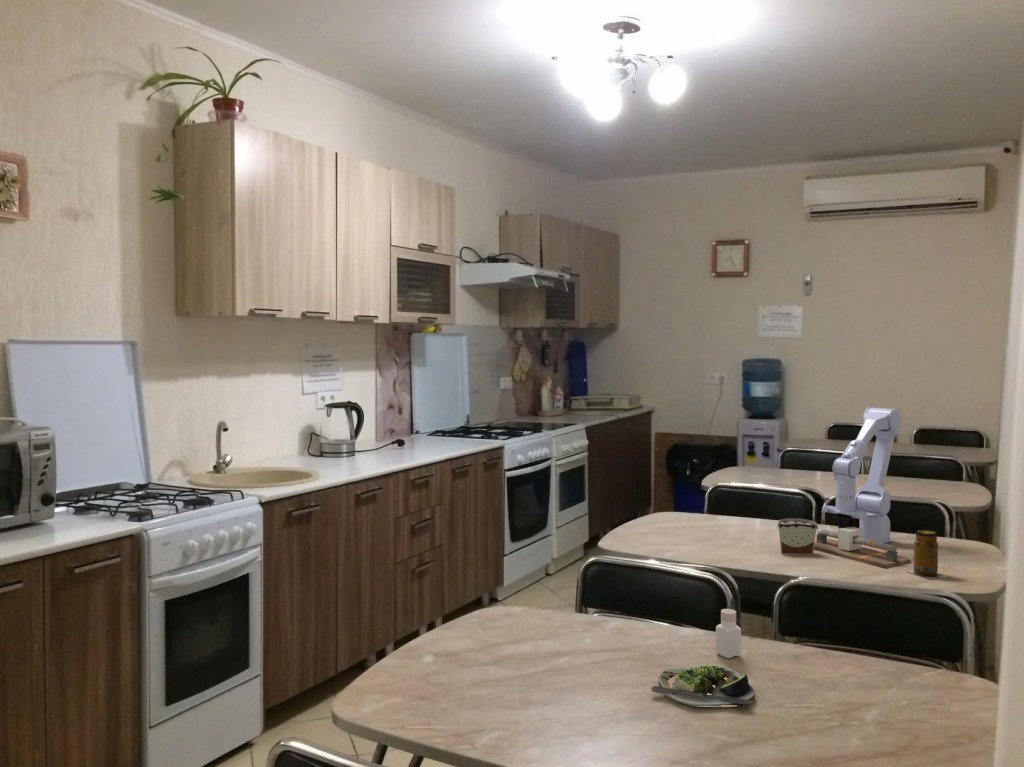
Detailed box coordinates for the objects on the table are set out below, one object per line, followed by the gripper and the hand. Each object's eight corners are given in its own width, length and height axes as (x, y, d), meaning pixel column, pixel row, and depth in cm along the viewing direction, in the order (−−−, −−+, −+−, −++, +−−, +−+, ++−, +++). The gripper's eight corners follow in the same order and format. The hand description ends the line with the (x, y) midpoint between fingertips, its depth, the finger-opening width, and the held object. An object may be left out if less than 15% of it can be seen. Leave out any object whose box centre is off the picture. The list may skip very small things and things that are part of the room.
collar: (850, 545, 259) (850, 526, 258) (861, 548, 255) (862, 529, 255) (837, 548, 256) (838, 528, 255) (849, 550, 252) (849, 531, 252)
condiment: (925, 569, 237) (926, 528, 237) (950, 577, 229) (951, 534, 229) (905, 571, 235) (906, 530, 234) (930, 580, 227) (930, 537, 226)
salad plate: (663, 718, 147) (663, 692, 146) (638, 676, 164) (638, 654, 164) (767, 712, 149) (768, 687, 148) (731, 672, 166) (732, 650, 166)
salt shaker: (727, 660, 172) (727, 615, 171) (714, 653, 175) (714, 609, 175) (742, 656, 174) (742, 612, 173) (728, 650, 177) (729, 607, 177)
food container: (813, 549, 260) (813, 518, 259) (817, 554, 254) (818, 522, 253) (772, 548, 261) (773, 517, 261) (776, 553, 255) (777, 522, 254)
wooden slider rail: (828, 541, 269) (829, 525, 269) (910, 562, 244) (910, 544, 244) (803, 546, 263) (804, 529, 263) (884, 568, 238) (885, 549, 238)
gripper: (818, 493, 263) (817, 535, 264) (857, 501, 251) (856, 545, 252) (832, 491, 267) (832, 532, 268) (872, 498, 254) (871, 542, 255)
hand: (844, 538), depth 260 cm, fingers closed
